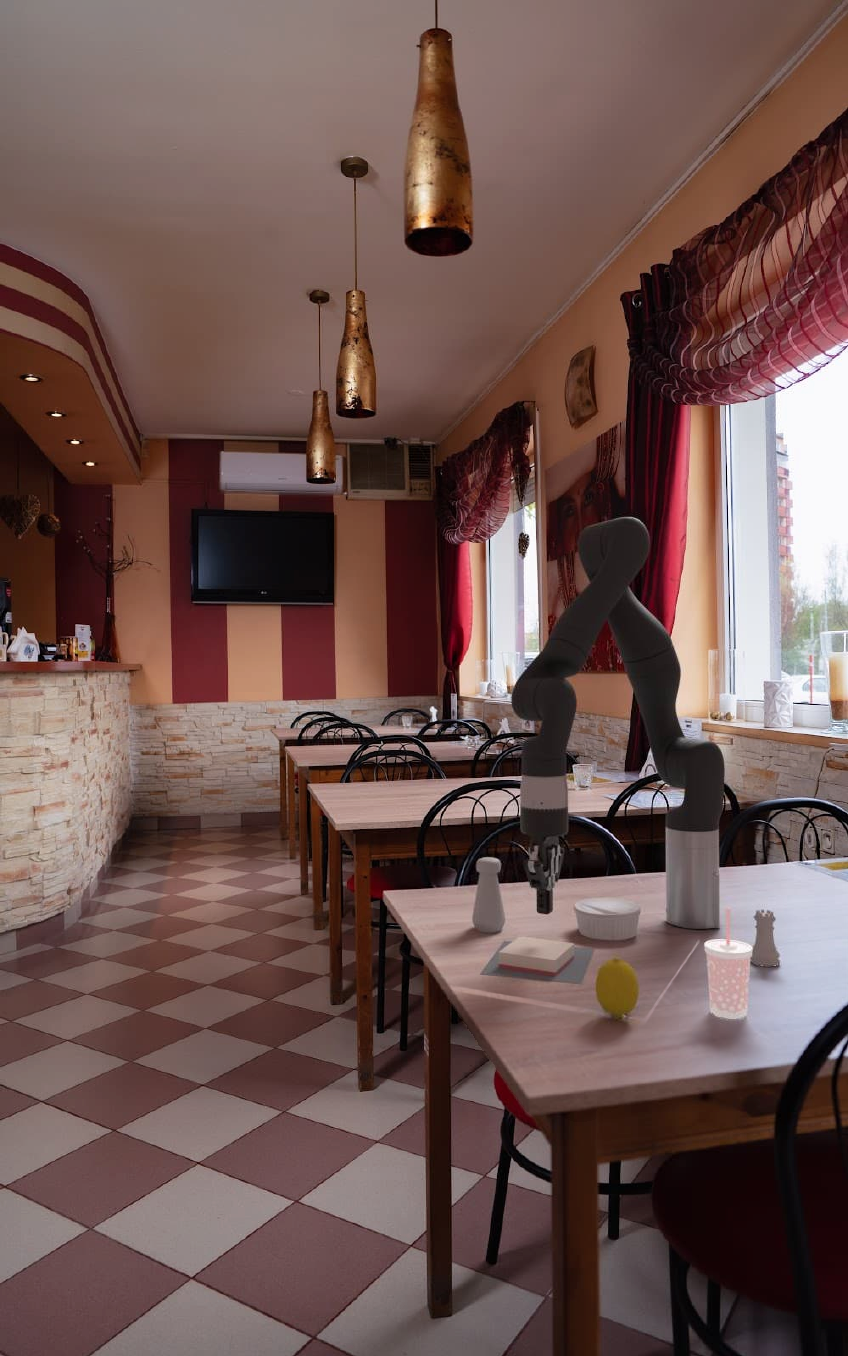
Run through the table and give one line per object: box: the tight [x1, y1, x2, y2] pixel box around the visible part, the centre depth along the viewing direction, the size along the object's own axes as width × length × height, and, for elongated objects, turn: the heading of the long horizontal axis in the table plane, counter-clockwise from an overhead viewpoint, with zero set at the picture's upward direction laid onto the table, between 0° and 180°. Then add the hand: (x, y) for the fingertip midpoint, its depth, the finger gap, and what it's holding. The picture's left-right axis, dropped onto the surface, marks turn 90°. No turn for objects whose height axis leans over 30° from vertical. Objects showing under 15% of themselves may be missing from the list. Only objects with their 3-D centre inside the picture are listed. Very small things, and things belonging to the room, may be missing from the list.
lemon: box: [595, 957, 640, 1020], centre depth 117 cm, size 6×6×8 cm
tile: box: [499, 935, 575, 976], centre depth 137 cm, size 2×9×9 cm
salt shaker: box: [471, 856, 506, 934], centre depth 156 cm, size 6×6×13 cm
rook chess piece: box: [750, 909, 781, 967], centre depth 139 cm, size 4×4×8 cm
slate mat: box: [479, 940, 595, 985], centre depth 139 cm, size 15×17×1 cm
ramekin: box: [573, 897, 641, 941], centre depth 154 cm, size 11×11×5 cm
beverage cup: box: [703, 907, 754, 1019], centre depth 118 cm, size 6×6×14 cm
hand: (544, 912), depth 141 cm, fingers closed
